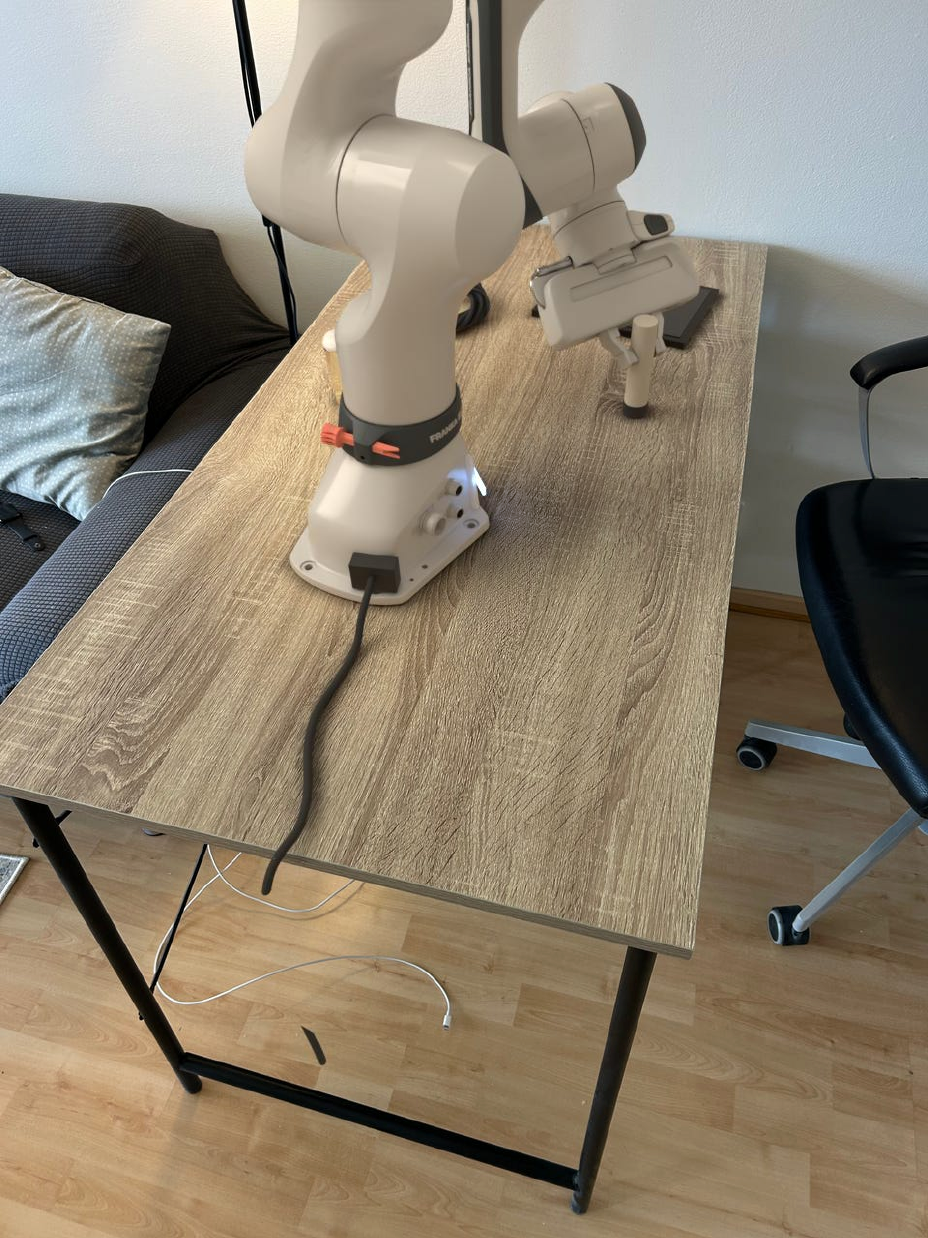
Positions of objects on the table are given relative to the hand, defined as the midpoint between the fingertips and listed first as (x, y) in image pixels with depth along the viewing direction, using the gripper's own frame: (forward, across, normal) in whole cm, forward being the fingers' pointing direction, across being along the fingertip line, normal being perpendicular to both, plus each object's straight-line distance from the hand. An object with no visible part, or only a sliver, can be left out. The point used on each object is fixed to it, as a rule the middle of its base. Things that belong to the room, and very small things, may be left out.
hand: (644, 361), depth 103 cm
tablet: (-10, +16, +20) cm, 28 cm away
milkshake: (-11, -27, +21) cm, 36 cm away
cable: (-20, -9, +30) cm, 37 cm away
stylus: (+5, 0, +6) cm, 7 cm away
